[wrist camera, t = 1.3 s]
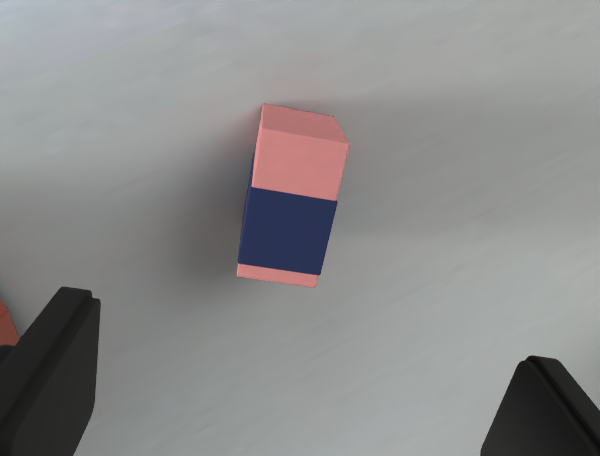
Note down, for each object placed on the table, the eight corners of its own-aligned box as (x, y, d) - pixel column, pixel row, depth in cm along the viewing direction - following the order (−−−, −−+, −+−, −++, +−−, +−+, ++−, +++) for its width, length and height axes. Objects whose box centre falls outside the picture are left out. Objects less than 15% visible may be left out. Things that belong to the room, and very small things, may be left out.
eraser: (262, 102, 23) (259, 128, 18) (335, 116, 23) (351, 144, 18) (241, 226, 25) (234, 277, 20) (308, 237, 25) (317, 289, 21)
